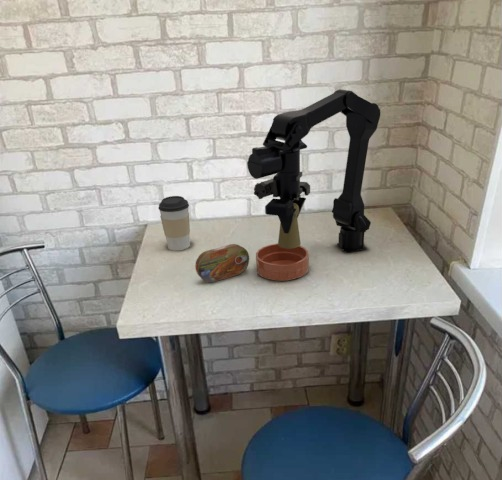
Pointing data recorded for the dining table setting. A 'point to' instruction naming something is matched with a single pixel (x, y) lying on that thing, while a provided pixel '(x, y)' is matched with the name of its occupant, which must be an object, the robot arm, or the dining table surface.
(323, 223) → the dining table surface
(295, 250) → the bowl
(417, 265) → the dining table surface
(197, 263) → the tin
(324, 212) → the dining table surface
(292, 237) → the cork
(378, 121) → the robot arm
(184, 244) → the coffee cup
